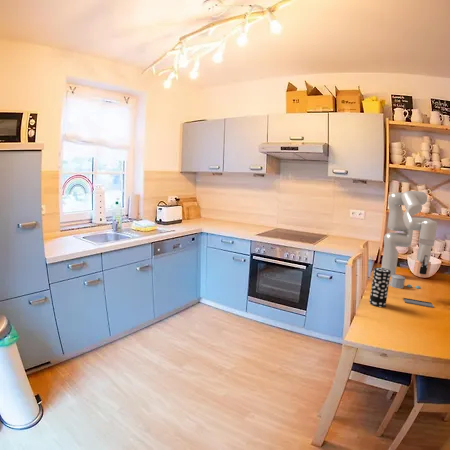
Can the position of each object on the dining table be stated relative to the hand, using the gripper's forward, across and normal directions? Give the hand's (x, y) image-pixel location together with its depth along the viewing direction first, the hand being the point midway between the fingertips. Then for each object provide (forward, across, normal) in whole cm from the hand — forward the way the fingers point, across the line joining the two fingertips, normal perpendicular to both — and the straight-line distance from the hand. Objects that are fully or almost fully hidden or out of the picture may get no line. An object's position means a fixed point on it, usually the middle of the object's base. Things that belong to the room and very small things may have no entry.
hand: (421, 271), depth 186 cm
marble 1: (+16, -19, -1) cm, 25 cm away
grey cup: (+18, -16, -9) cm, 25 cm away
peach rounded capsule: (+2, 0, 0) cm, 2 cm away
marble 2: (+16, -20, +4) cm, 26 cm away
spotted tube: (+18, +18, -22) cm, 34 cm away
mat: (+18, 0, 0) cm, 18 cm away
